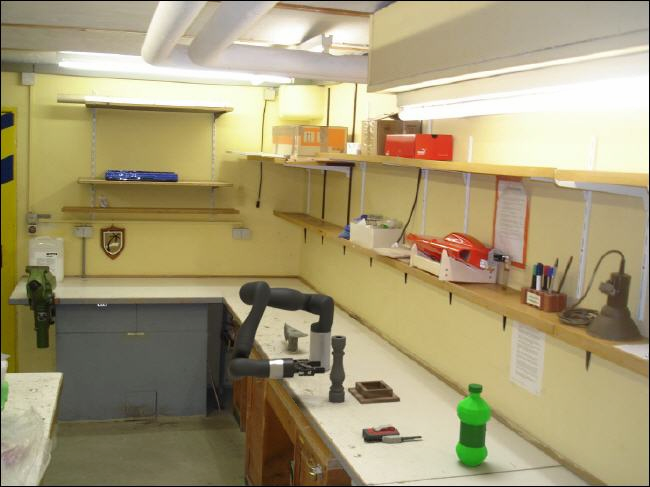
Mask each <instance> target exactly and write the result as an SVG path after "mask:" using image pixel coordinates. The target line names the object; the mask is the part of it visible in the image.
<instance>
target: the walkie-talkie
mask: <svg viewBox="0 0 650 487" xmlns="http://www.w3.org/2000/svg"><path fill="white" fill-rule="evenodd" d="M361 430H362V431H361V435H362V438H363V440H364V441H365V442H367V443H380V442H383V443H386V444H400V443H401V442H402V441H403V442H404V441H411V440H412V441H413V440H415V439H422V438H423V436H422V435H415V436H414V435H413V436H412V435H411V436H400V435H401V433H400V432H399V431H398V428H396V427H394V426H393V425H392V424H380V425H379V426H377V427H375V426H372V427H371V428H370V427H369V428H368V427H367V428H362V429H361Z"/></svg>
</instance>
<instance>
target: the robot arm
mask: <svg viewBox="0 0 650 487" xmlns="http://www.w3.org/2000/svg"><path fill="white" fill-rule="evenodd" d="M238 294H239V299H240V301H241V302H242V303H243V304H245V305H247V306H251V309H250V311H249V313H248V315H247V316H246V318H245V319H244V321H243V322H242V323H241V325H240V327H239V328H238V330H237V333H236V336H235V339H234V344H233V349H232V354H231V358H230V361H229V364H228V367H227V375H228V377H229V378H230V380H232V381H235V382H236V381H237V382H238V381H241V380H243V379H244V378H245V377H254V378H255V379H293V378H294V376H295V374H298V377H315V375H316V374H317V375H318V374H319V375H320V374H326V372H327V371H331V353H332V349H331V348H332V345H331V337H332V328H333V325H334V315H335V301H334V299H333V297H332V296H330V295H326V294H321V293H304V292H301V291H300V290H297V289H293V288H290V287H270V285H269V283H268V282H266V281H263V280H258V281H250V282H246V283H244V284H242V285H241V287H240V288H239V291H238ZM267 307H268V308H273V309H279V310H282V311H289V312H296V311H303V312H307V313H309V314H312V315H315V316H319V317H318V321H317V322H316V321H315V322H312V323H311V324H310V334H309V336H310V337H309V358H302V359H301V358H300V359H294V358H293V357H279V358H278V357H276V358H268V359H265V358H264V359H263V358H262V359H260V358H259V359H253V358H250V355H251V353H252V350H253V345H254V342H255V338H256V333H257V331H258V328H259V325H260V323H261V321H262V318H263V316H264V313H265V311H266V309H267Z"/></svg>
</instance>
